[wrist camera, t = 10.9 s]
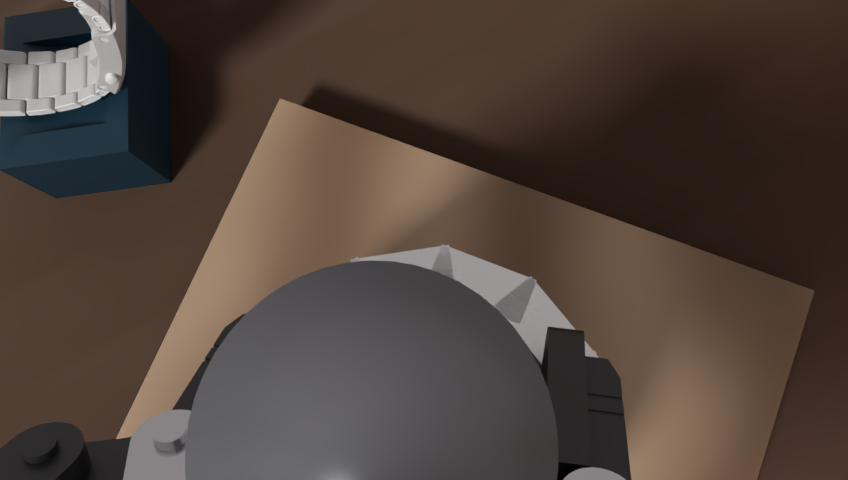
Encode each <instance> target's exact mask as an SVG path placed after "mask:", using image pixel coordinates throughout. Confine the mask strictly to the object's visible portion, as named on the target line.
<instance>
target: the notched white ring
mask: <svg viewBox="0 0 848 480" xmlns="http://www.w3.org/2000/svg"><path fill="white" fill-rule="evenodd" d="M369 260H371V261H394V262H400V263H406V264H412V265H417V266H420V267H423V268H426V269H430V270H433V271H436V272H439V273H441V274H443V275H445V276H448V277H450V278H452V279H454V280H456V281H459V282H460V283H462V284H463V285H465V286H467V287H468V288H470V289H471V290H473V291H475V292H476V293H478V294H479V295H481V296H482V297H483V298H484V299H485V300H487V301H488V302H489V303H490V304H491V305H493V306H494V307H495V308H496V309H498V311H499V312H500V313H501V314H502V315H503V316H504V317H505V318H506V319H507V320H508V321H509V322H510V323H511V324H512V325H513V327H514V328H515V329H516V331H517V332H518V333H519V335H520V336H521V338H522V339H523V340H524V342H525V343H526V344H527V346H528V347H529V349H530V351H531V353H532V355H533V357H534V358H535V360H536V362H537V364H538V366H539V368H540V370H541V367H542V360H543V353H544V346H545V340H546V333H547V328H548V327H557V328H565V329H573V330H575V328H574V327H573V326H572V325H571V324H570V322H569V321H568V320H567V319H566V318H565V316H564V315H563V314H562V313H561V312H560V310H559V309H558V308H557V307H556V306H555V304H554V303H553V302H552V301H551V300H550V298H549V297H548V296H547V295H546V294H545V292H544V291H543V290H542V289H541V288H540V286H539V285H538V284H537V283H536V281H537V280H535V279H533V278H532V277H531V276H530V277H527V276H524V275H522V274H519V273H516V272H514V271H511V270H509V269H506V268H503V267H501V266H498V265H496V264H493V263H490V262H488V261H485V260H482V259H480V258H477V257H475V256H472V255H469V254H467V253H464V252H462V251H459V250H456V249H454V248H451V247H449V245H443V244H442V245H441V246H438V247H431V248H424V249H417V250H411V251H404V252H397V253H391V254H384V255H377V256H370V257H364V258H358V257H356V258H355V259H351V262H358V261H369ZM585 356H589V357H597V358H599V357H598V356H597V355H596V351H593V350H592V349H591V347H590V346H589V345H588V344H587V343H586V341H585Z"/></svg>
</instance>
